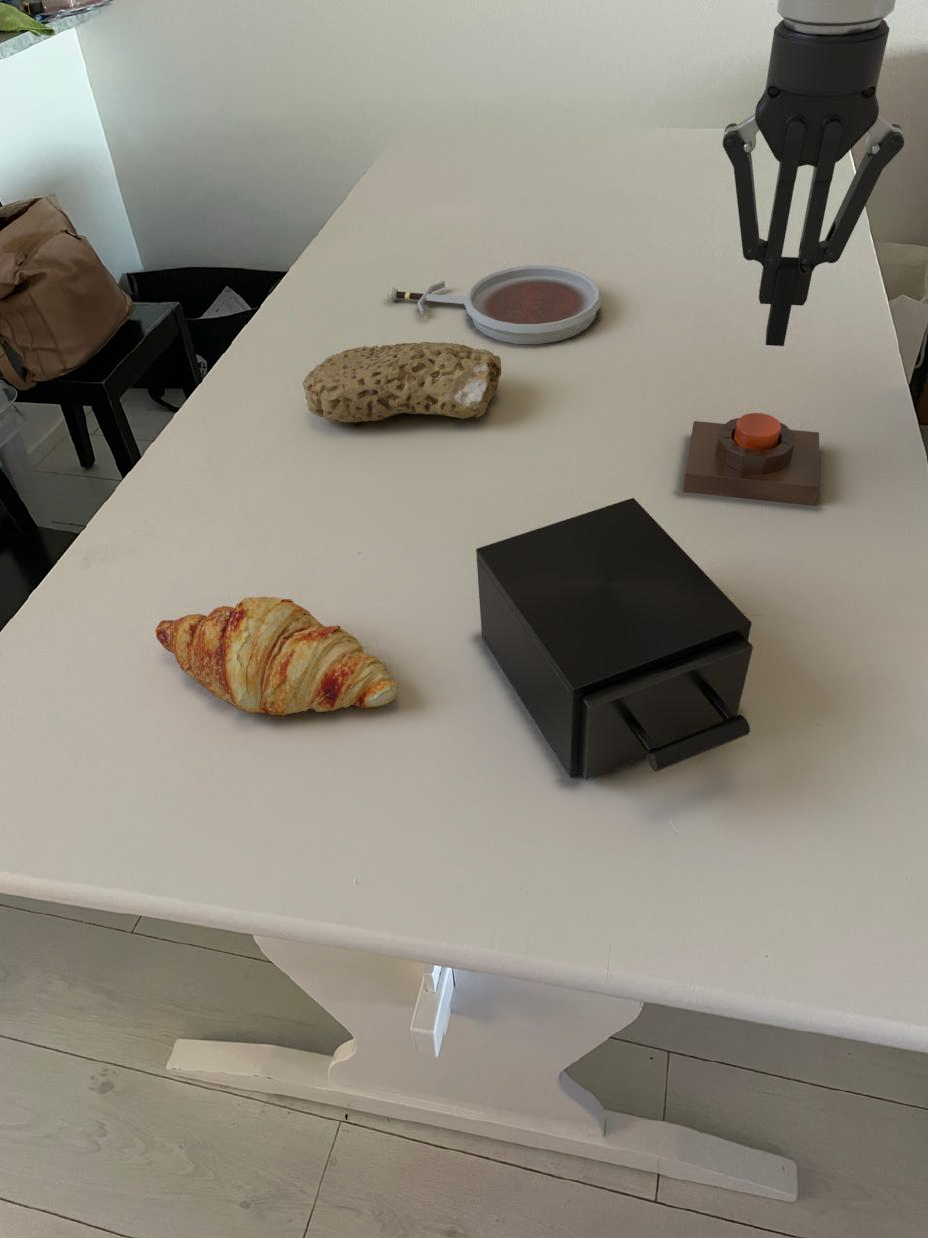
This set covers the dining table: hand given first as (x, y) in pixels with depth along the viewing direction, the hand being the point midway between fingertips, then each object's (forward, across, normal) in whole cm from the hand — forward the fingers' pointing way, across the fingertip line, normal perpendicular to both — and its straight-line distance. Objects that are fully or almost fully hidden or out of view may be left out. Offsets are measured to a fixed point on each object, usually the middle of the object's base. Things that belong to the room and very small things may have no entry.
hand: (774, 337), depth 80 cm
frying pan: (+14, -33, +30) cm, 46 cm away
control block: (+14, 0, 0) cm, 14 cm away
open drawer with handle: (+13, -8, -31) cm, 35 cm away
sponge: (+14, -37, +6) cm, 40 cm away
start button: (+11, 0, 0) cm, 11 cm away
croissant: (+14, -36, -34) cm, 51 cm away
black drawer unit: (+14, -10, -28) cm, 33 cm away
